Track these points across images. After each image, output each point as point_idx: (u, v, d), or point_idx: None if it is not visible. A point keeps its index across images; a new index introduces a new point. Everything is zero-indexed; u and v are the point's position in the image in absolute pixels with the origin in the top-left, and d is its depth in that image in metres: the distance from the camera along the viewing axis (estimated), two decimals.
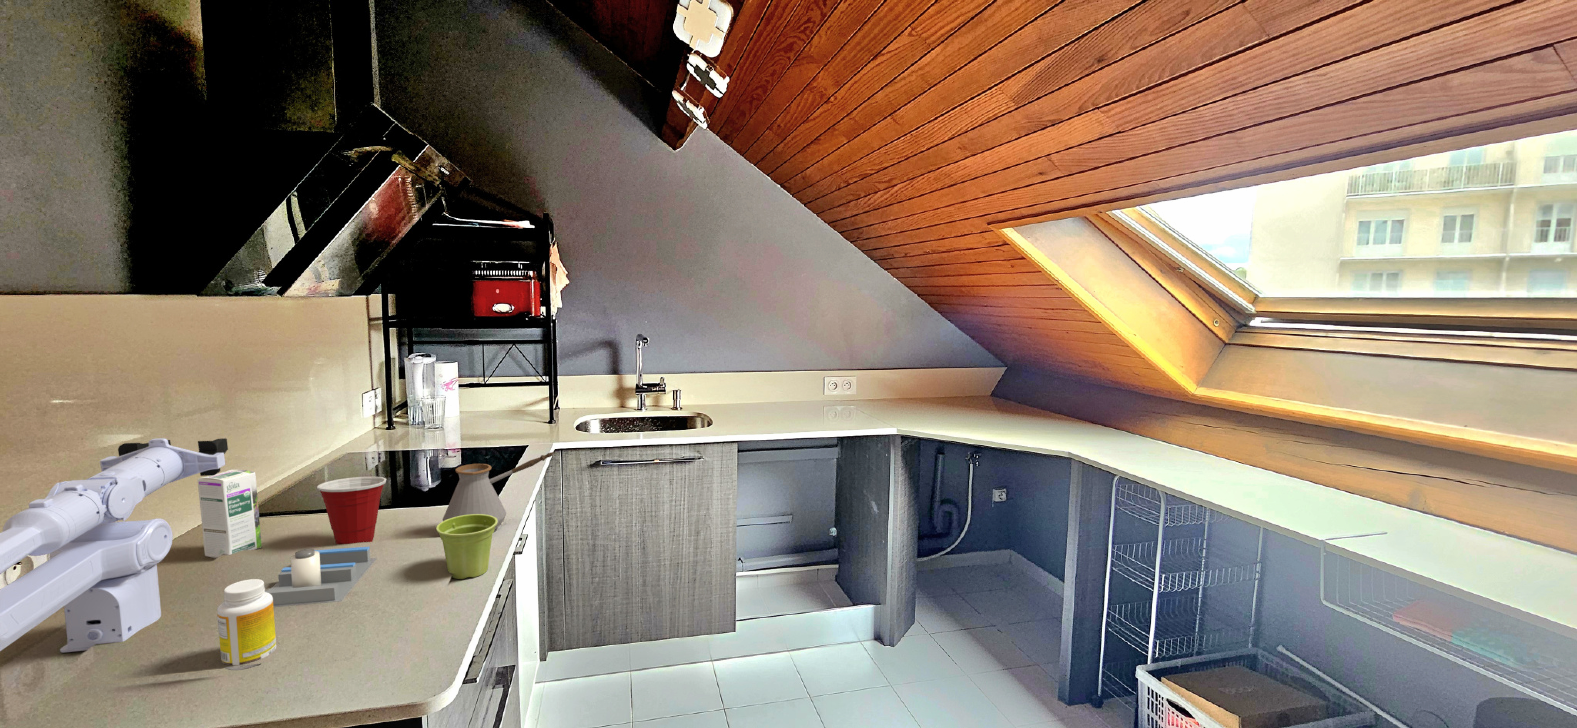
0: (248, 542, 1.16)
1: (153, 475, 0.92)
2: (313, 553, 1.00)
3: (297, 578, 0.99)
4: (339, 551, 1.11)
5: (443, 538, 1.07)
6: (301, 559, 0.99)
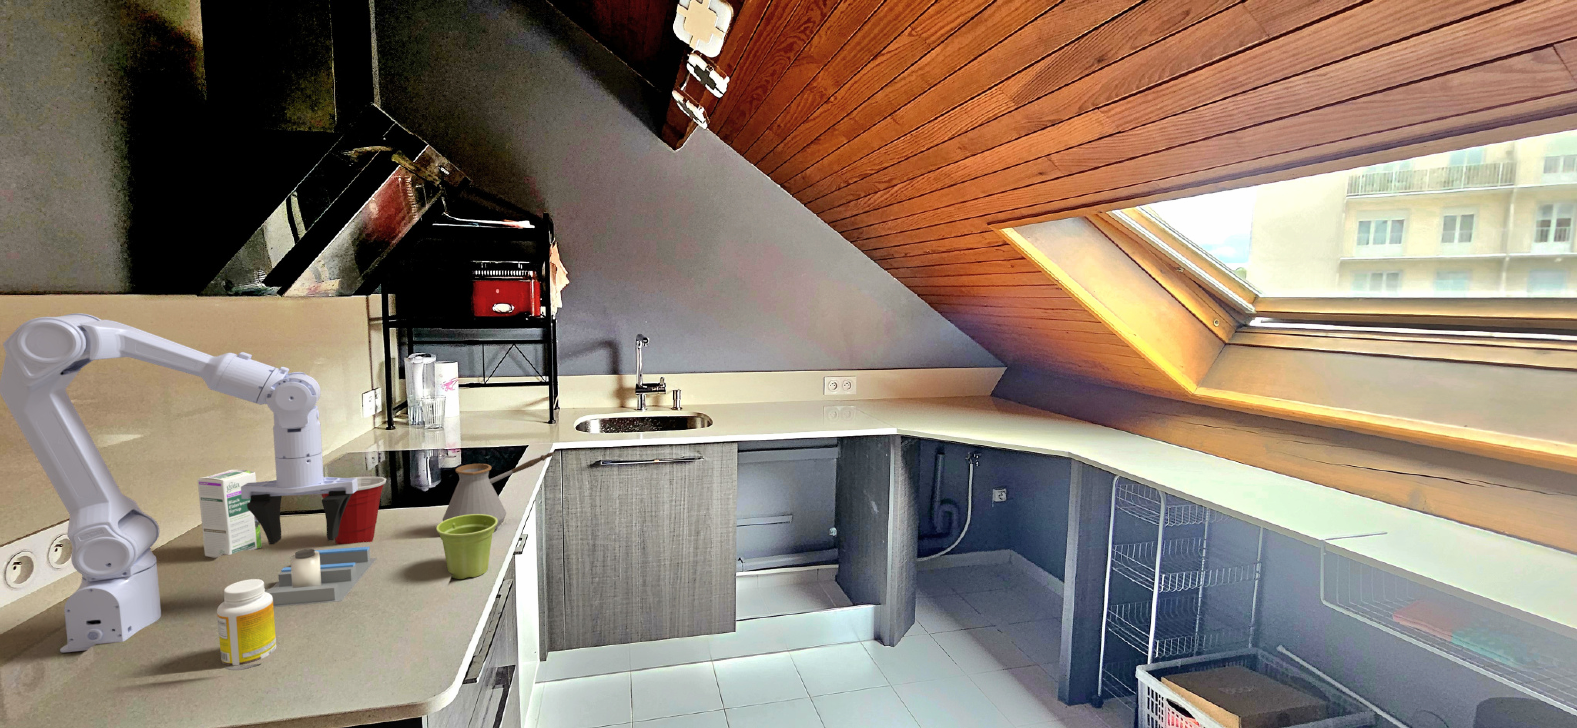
0: (248, 542, 1.16)
1: (300, 444, 0.96)
2: (313, 553, 1.00)
3: (297, 578, 0.99)
4: (339, 551, 1.11)
5: (443, 538, 1.07)
6: (301, 559, 0.99)
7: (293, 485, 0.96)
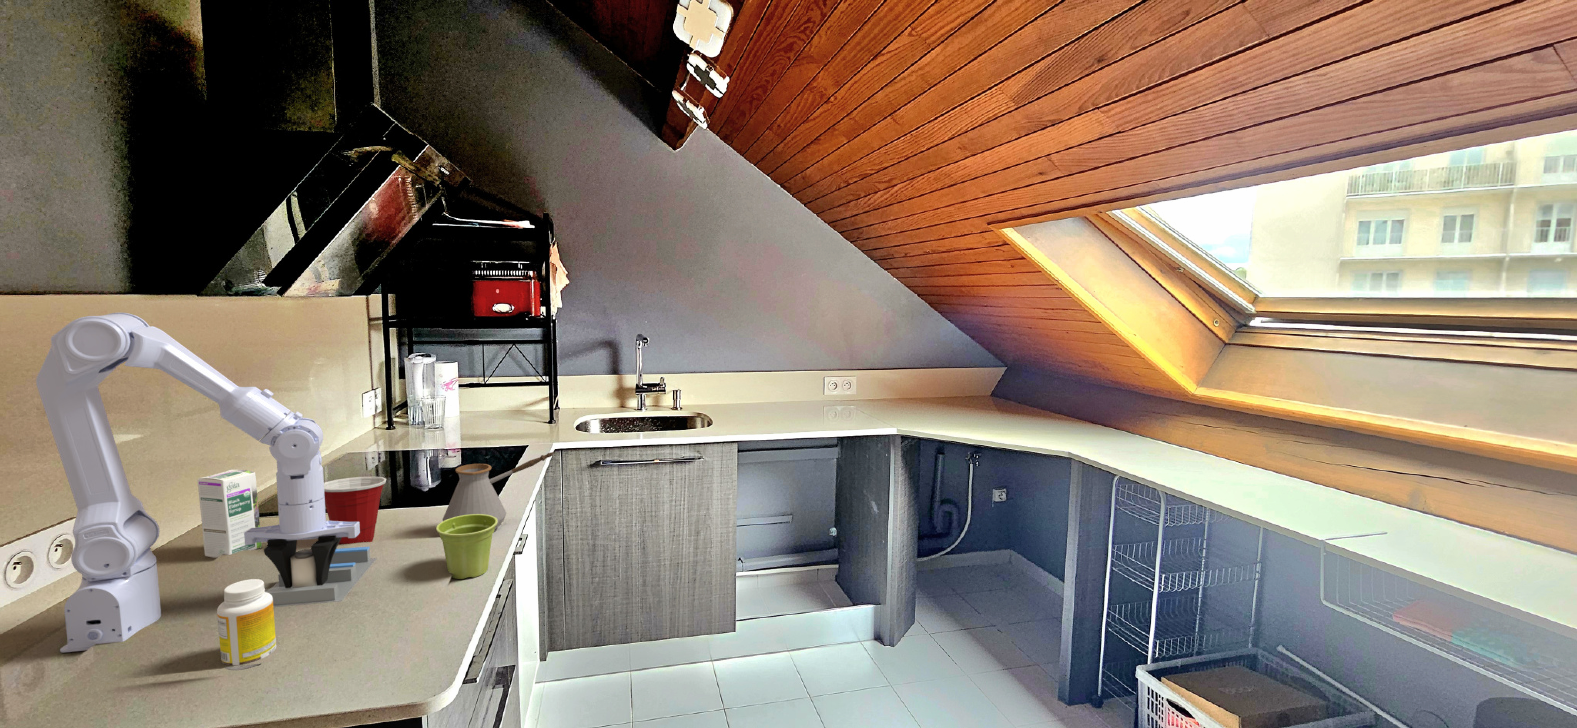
0: None
1: (303, 490, 0.97)
2: None
3: (297, 578, 0.99)
4: (339, 551, 1.11)
5: (443, 538, 1.07)
6: (301, 559, 0.99)
7: (296, 531, 0.97)
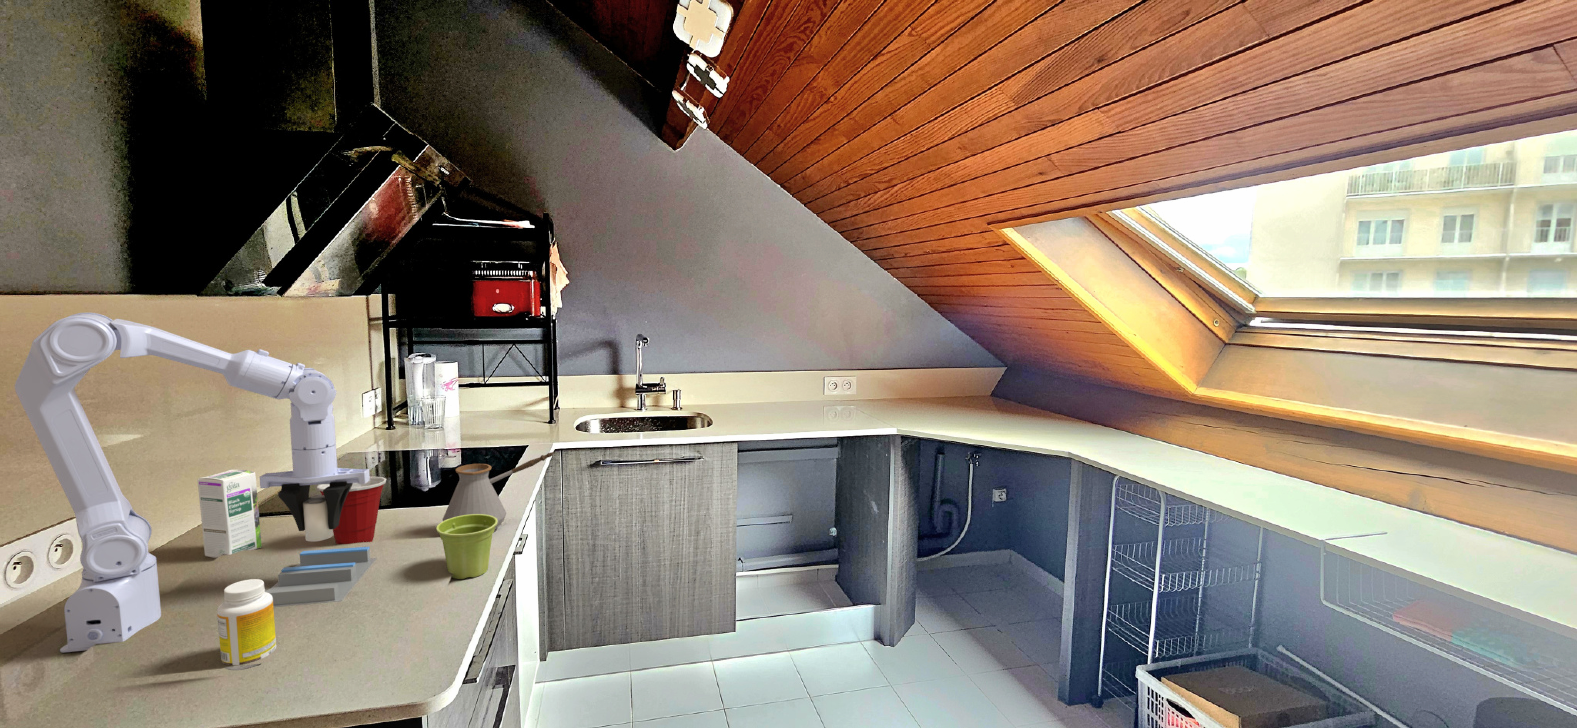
0: (248, 542, 1.16)
1: (320, 436, 1.01)
2: (324, 499, 1.04)
3: (309, 522, 1.03)
4: (339, 551, 1.11)
5: (443, 538, 1.07)
6: (313, 504, 1.03)
7: (308, 475, 1.01)
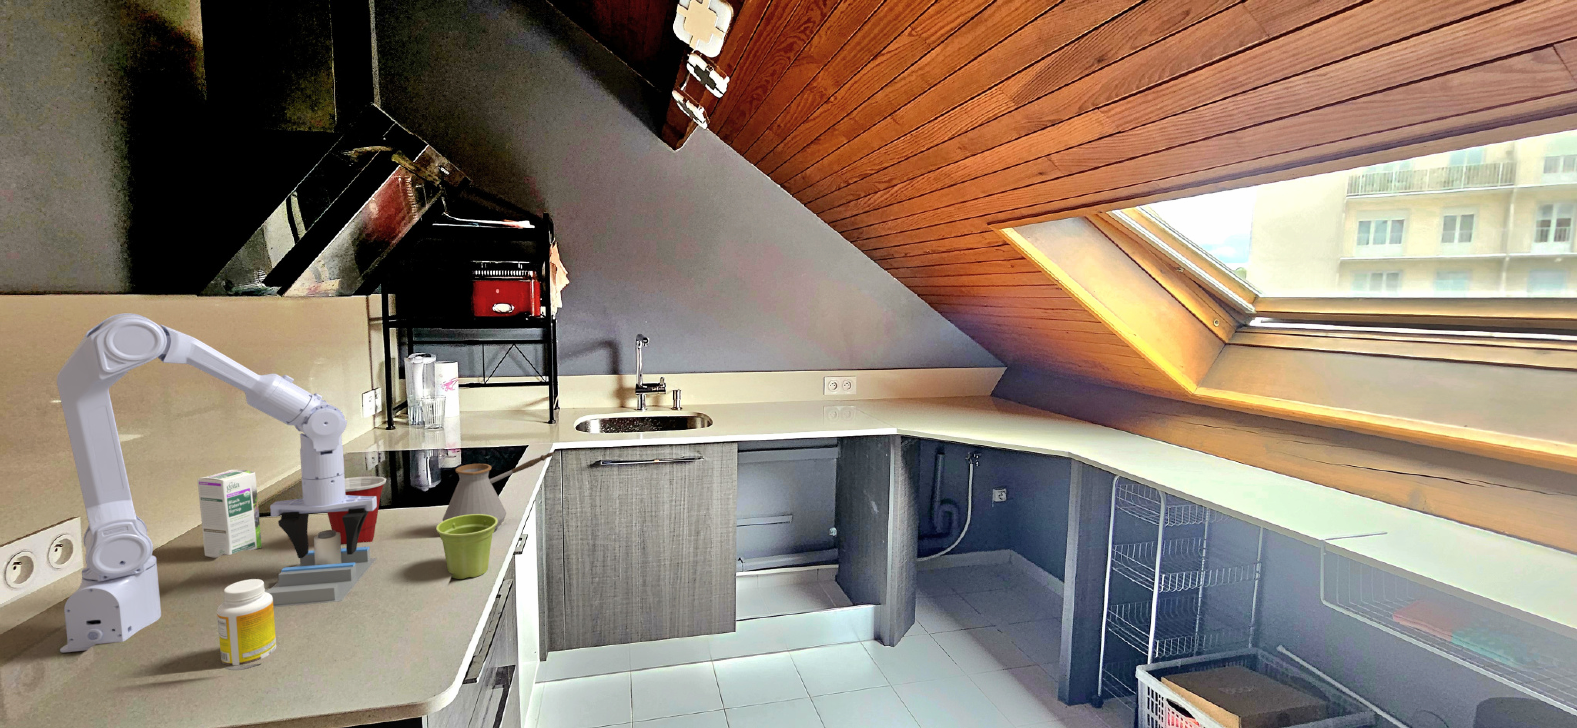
0: (248, 542, 1.16)
1: (332, 465, 1.05)
2: (335, 534, 1.08)
3: (319, 556, 1.06)
4: None
5: (443, 538, 1.07)
6: (323, 539, 1.06)
7: (318, 504, 1.04)
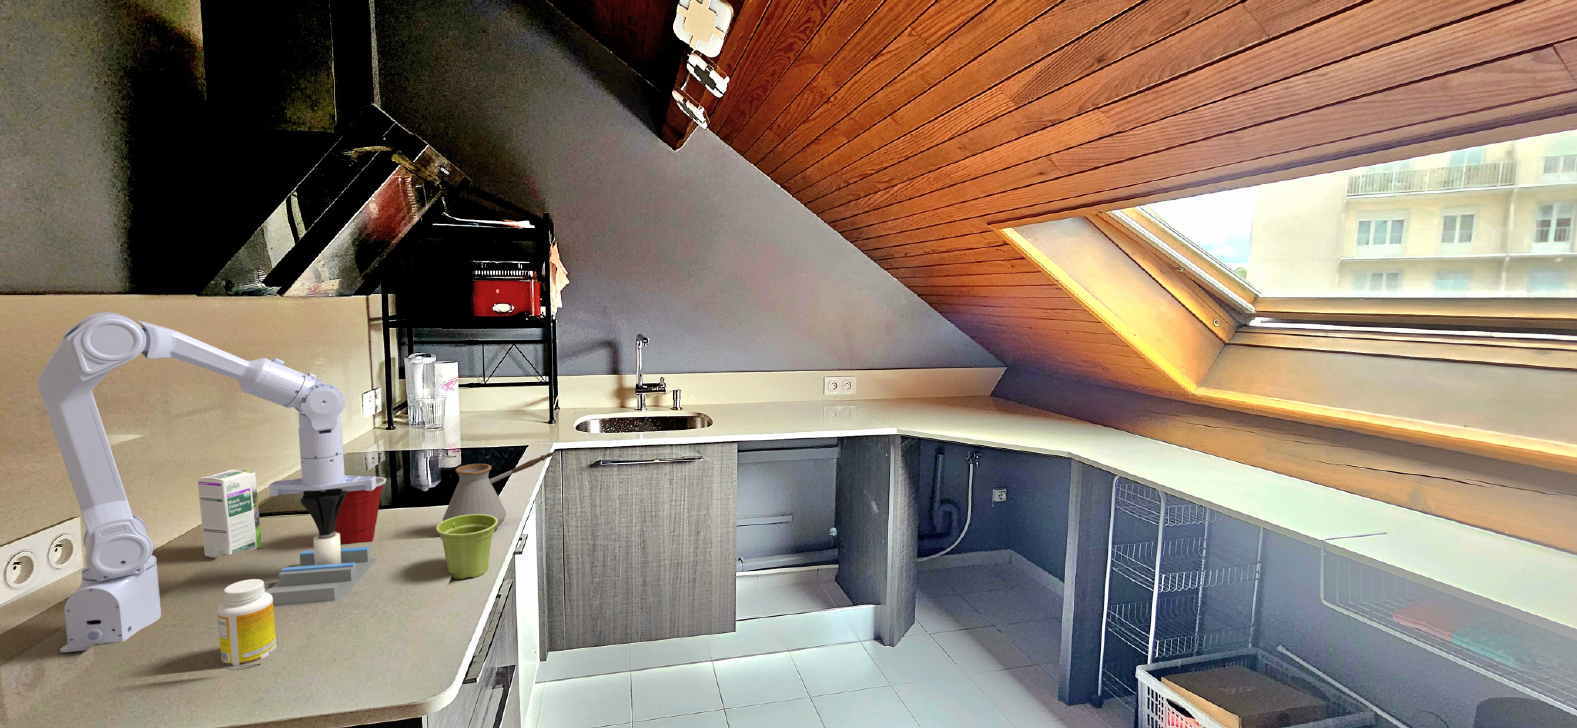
0: (248, 542, 1.16)
1: (331, 444, 1.05)
2: (334, 534, 1.08)
3: (319, 557, 1.06)
4: None
5: (443, 538, 1.07)
6: (323, 539, 1.06)
7: (317, 483, 1.04)
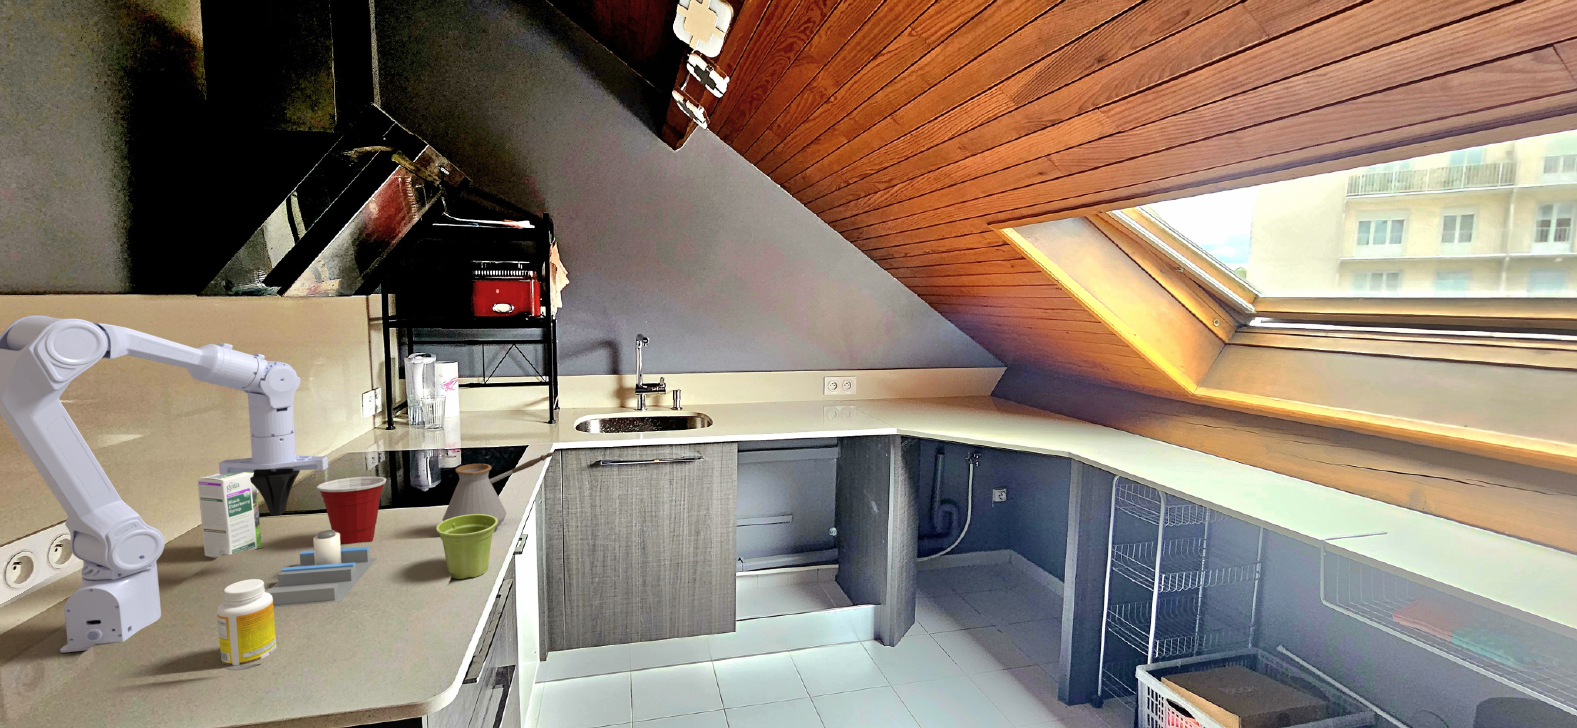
0: (248, 542, 1.16)
1: (287, 422, 1.06)
2: (334, 534, 1.08)
3: (319, 556, 1.06)
4: None
5: (443, 538, 1.07)
6: (323, 539, 1.06)
7: (267, 462, 1.04)
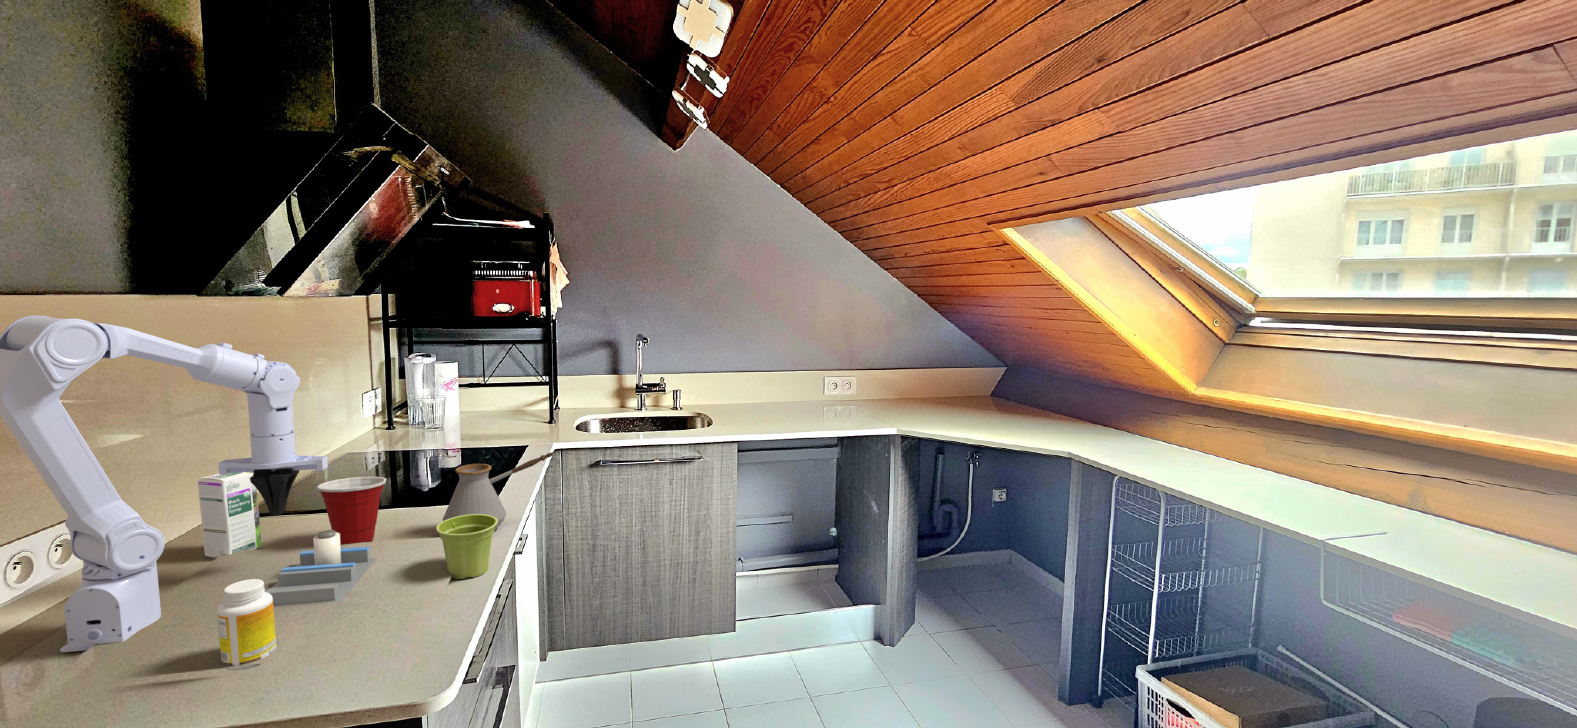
0: (248, 542, 1.16)
1: (287, 422, 1.06)
2: (334, 534, 1.08)
3: (319, 556, 1.06)
4: None
5: (443, 538, 1.07)
6: (323, 539, 1.06)
7: (267, 461, 1.04)
